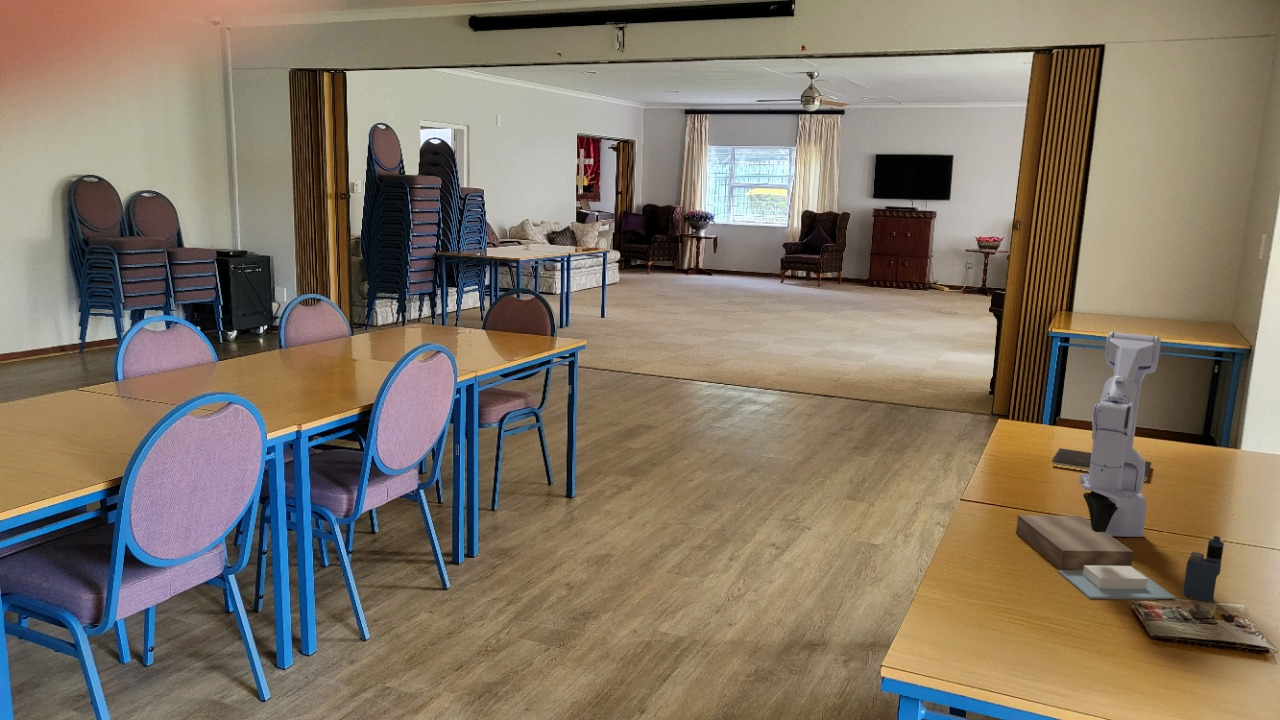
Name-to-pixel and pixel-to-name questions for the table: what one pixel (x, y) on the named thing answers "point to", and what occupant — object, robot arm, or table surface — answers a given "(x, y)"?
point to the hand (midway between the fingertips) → (1098, 530)
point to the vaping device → (1203, 572)
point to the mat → (1100, 593)
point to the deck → (1072, 542)
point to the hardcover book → (1082, 460)
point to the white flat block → (1115, 577)
